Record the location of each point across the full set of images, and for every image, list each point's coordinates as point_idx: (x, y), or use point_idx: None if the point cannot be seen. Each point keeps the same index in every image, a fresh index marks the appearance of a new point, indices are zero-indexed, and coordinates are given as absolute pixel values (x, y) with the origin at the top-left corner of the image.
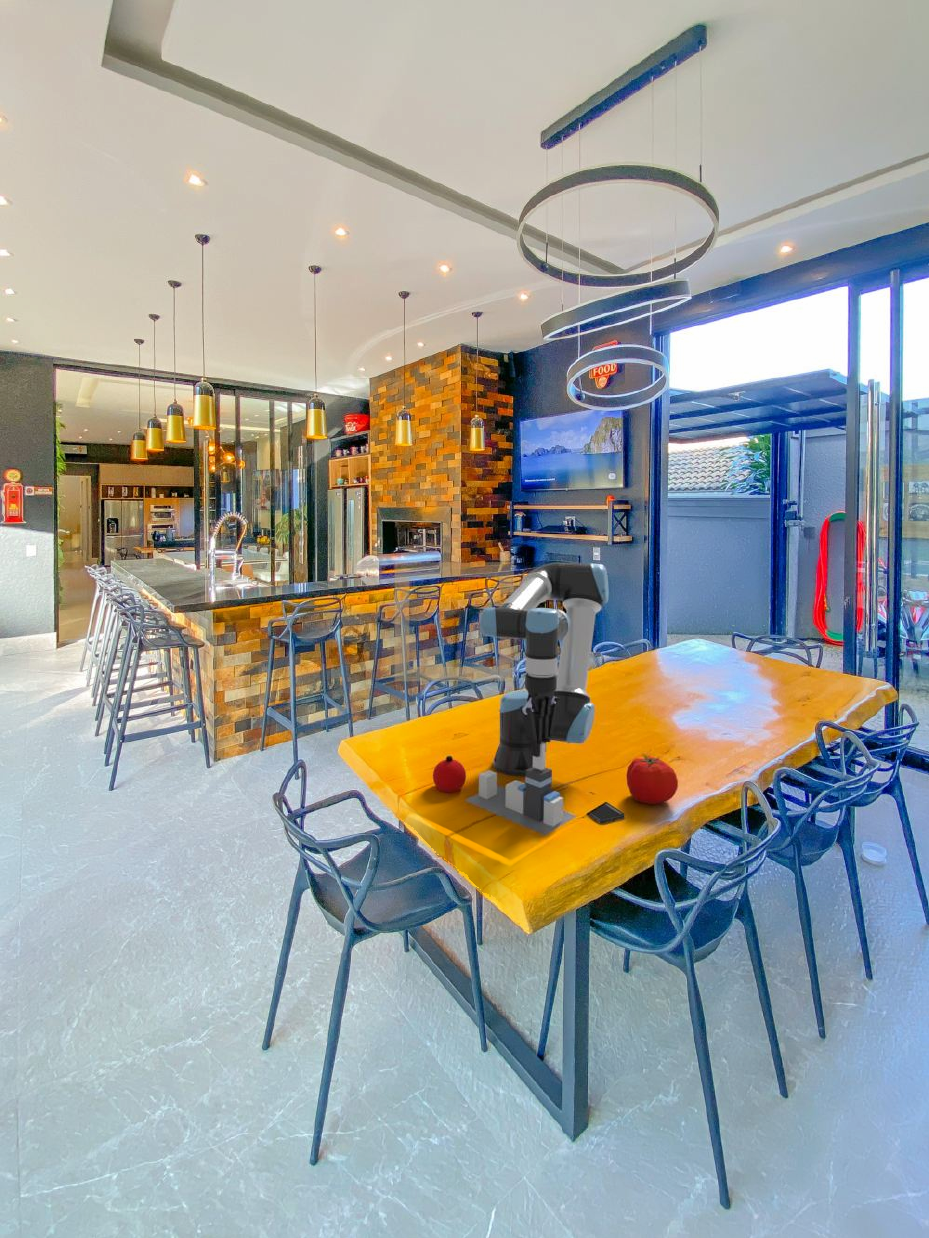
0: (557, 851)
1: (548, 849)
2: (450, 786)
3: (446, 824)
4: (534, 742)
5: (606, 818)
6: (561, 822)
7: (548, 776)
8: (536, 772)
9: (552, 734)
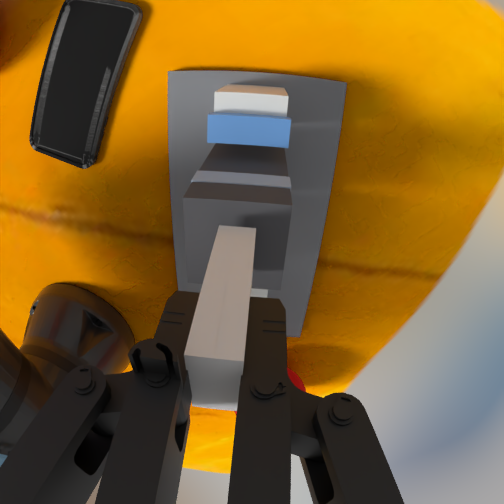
0: (379, 25)
1: (386, 50)
2: (296, 378)
3: (400, 305)
4: (360, 408)
5: (115, 10)
6: (239, 81)
7: (218, 187)
8: (273, 239)
9: (67, 378)
